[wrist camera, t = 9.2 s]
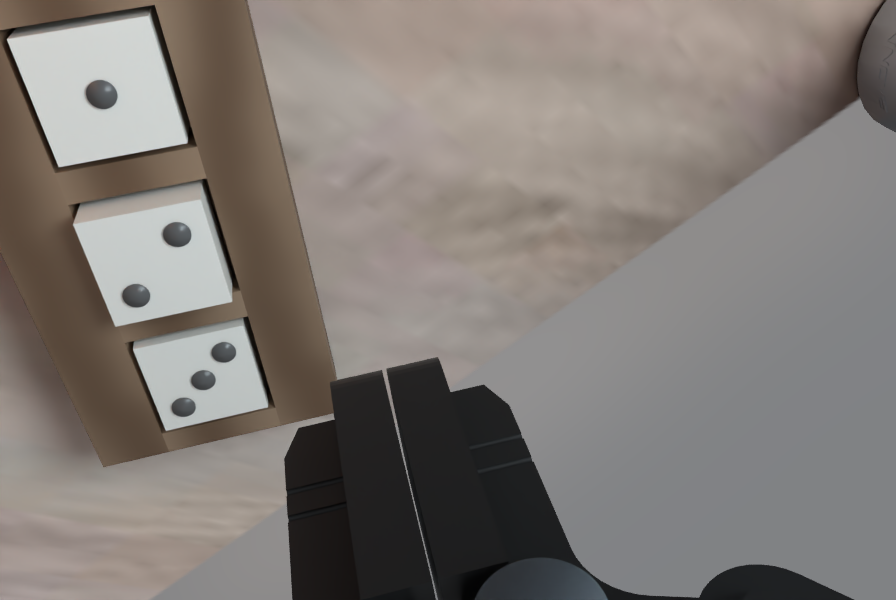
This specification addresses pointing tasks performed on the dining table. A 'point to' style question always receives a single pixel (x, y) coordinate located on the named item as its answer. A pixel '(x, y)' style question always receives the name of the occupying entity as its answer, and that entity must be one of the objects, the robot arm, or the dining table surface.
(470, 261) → the dining table surface
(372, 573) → the robot arm
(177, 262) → the button two
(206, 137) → the button panel
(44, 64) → the button one
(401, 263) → the dining table surface
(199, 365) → the button three
